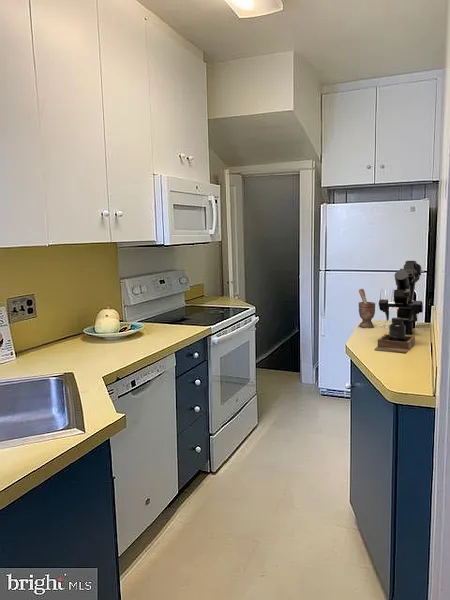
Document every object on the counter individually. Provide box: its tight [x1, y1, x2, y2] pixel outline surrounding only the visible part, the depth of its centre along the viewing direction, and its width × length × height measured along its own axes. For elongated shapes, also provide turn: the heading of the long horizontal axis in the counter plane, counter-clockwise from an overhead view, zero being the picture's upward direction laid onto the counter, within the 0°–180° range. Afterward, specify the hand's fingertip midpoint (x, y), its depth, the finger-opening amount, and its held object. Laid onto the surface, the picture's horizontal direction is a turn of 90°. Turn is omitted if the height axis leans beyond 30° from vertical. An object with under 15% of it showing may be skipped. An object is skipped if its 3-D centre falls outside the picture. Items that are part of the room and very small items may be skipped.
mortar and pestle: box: [358, 288, 376, 329], centre depth 258 cm, size 12×9×20 cm
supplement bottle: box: [388, 317, 406, 342], centre depth 213 cm, size 7×7×12 cm
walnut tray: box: [374, 333, 416, 354], centre depth 211 cm, size 18×13×4 cm
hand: (398, 321), depth 215 cm, fingers open, 9 cm apart
